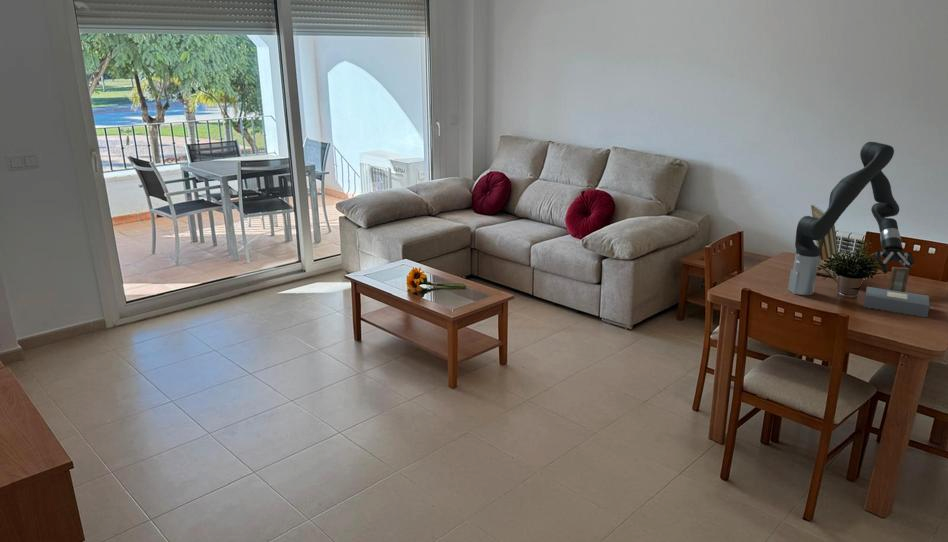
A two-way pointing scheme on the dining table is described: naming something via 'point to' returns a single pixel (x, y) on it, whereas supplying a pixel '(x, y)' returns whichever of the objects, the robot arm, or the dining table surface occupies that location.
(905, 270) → the walnut frame
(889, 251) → the robot arm
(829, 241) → the picture frame
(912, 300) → the display step
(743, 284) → the dining table surface
